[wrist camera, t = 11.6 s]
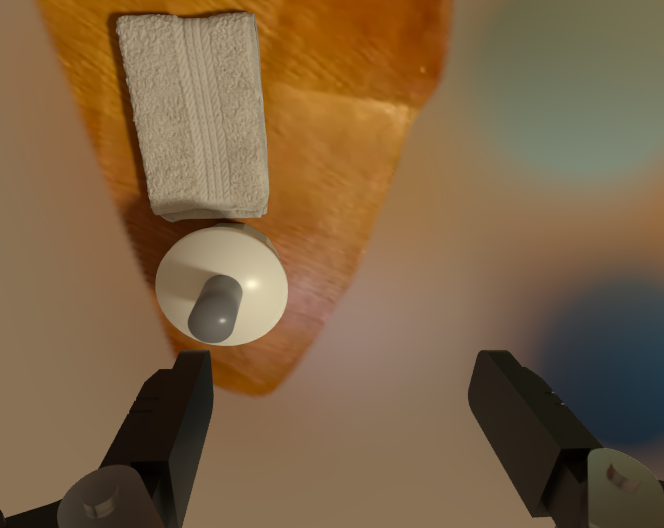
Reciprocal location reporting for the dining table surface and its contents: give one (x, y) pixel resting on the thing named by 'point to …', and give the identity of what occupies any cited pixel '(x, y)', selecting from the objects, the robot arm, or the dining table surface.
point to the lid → (222, 286)
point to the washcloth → (198, 113)
